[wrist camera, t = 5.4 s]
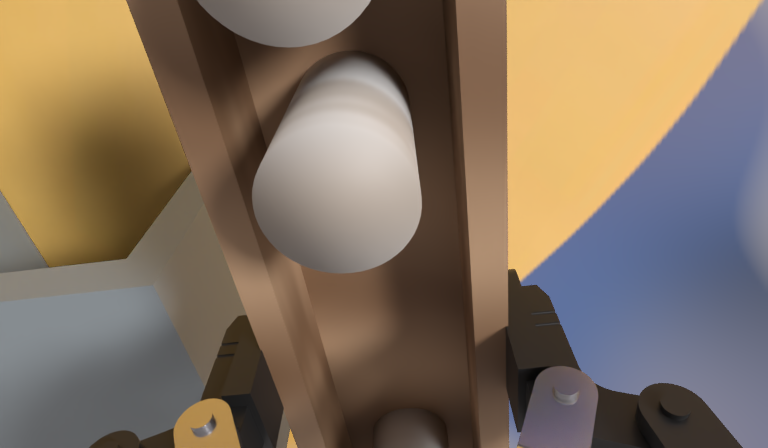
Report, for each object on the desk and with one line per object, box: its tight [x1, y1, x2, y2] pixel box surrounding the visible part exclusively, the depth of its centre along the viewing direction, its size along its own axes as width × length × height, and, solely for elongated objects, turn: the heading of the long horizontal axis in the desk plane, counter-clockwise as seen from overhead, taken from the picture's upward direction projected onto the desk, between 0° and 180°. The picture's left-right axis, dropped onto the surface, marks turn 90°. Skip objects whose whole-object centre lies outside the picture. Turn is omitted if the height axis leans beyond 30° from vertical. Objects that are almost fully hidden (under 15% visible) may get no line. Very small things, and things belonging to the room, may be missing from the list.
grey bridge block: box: [0, 171, 290, 448], centre depth 29 cm, size 18×17×13 cm
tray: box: [126, 0, 509, 448], centre depth 13 cm, size 24×6×5 cm, turn 8°
